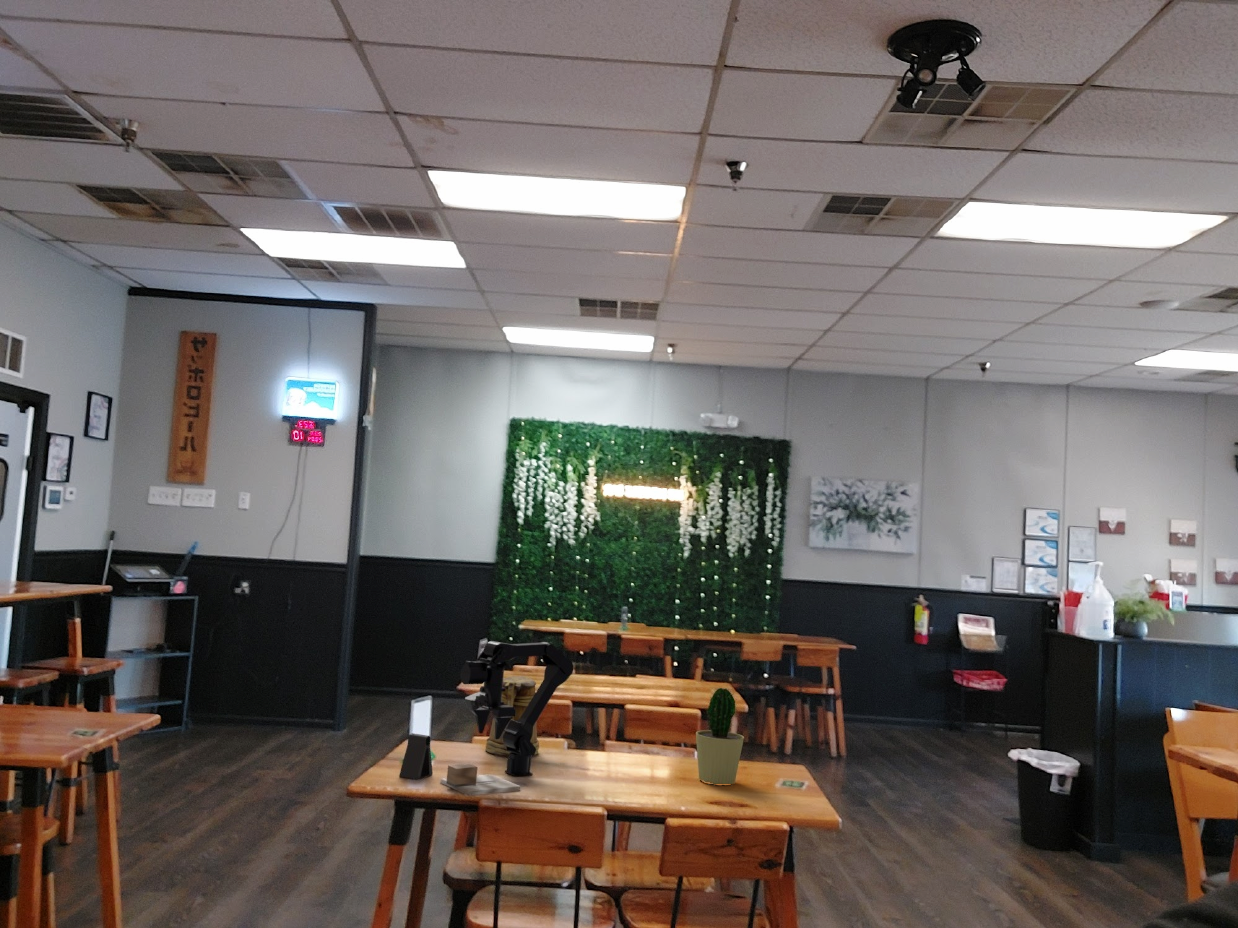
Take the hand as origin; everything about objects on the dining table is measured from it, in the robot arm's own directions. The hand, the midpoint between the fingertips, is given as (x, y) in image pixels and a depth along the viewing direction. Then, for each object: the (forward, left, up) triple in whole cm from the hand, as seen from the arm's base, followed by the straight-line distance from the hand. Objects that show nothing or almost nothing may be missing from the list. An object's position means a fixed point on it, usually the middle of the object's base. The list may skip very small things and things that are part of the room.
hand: (488, 736), depth 306 cm
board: (+8, +10, -12) cm, 18 cm away
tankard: (-27, -27, -12) cm, 40 cm away
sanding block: (+14, +10, -11) cm, 21 cm away
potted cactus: (-67, +31, -12) cm, 75 cm away
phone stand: (+19, -8, -12) cm, 24 cm away
